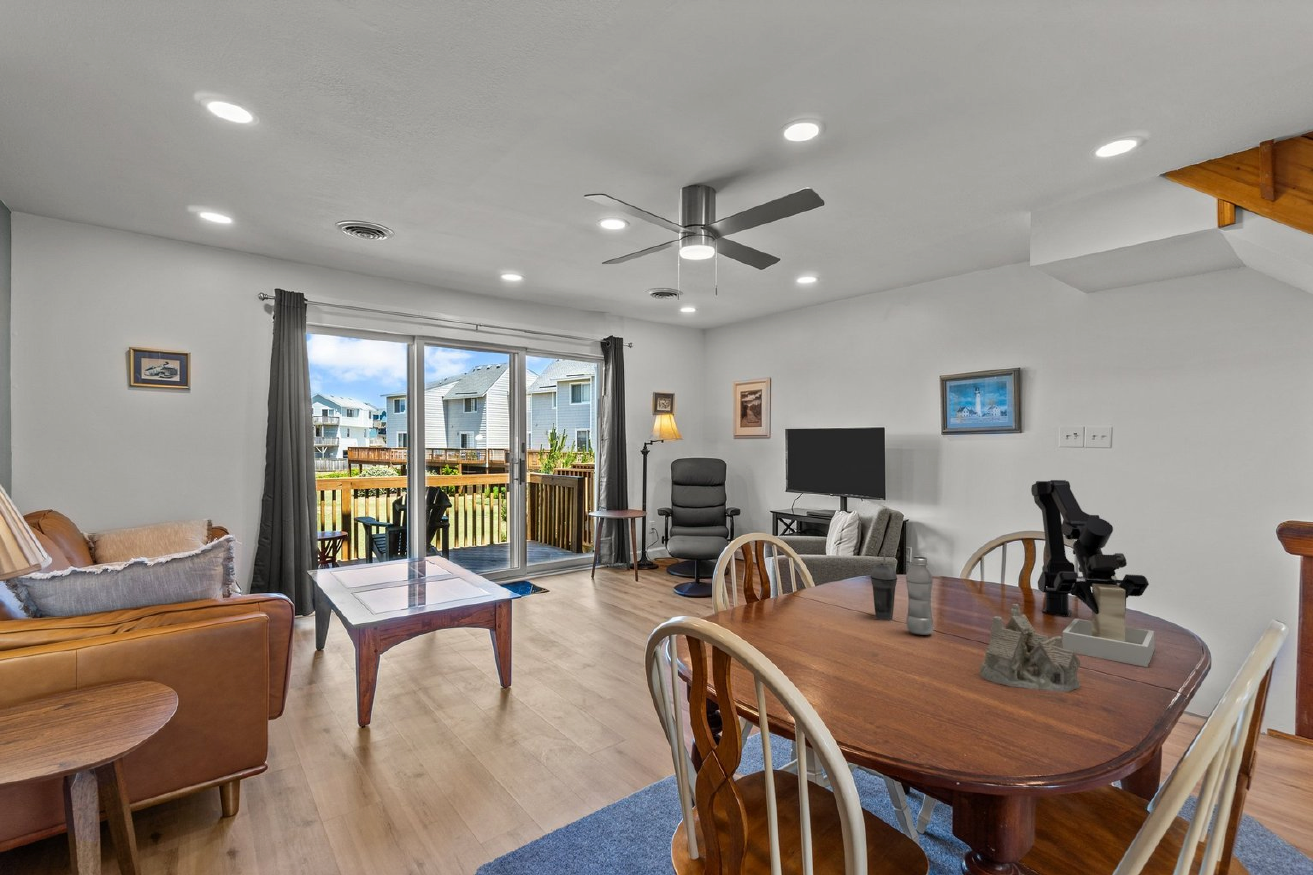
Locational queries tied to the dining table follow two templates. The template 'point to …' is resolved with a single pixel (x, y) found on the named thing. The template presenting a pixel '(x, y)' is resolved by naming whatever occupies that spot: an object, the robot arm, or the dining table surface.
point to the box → (1110, 644)
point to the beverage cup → (883, 590)
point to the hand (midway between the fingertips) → (1110, 614)
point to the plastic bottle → (919, 597)
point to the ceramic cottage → (1028, 657)
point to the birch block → (1109, 612)
